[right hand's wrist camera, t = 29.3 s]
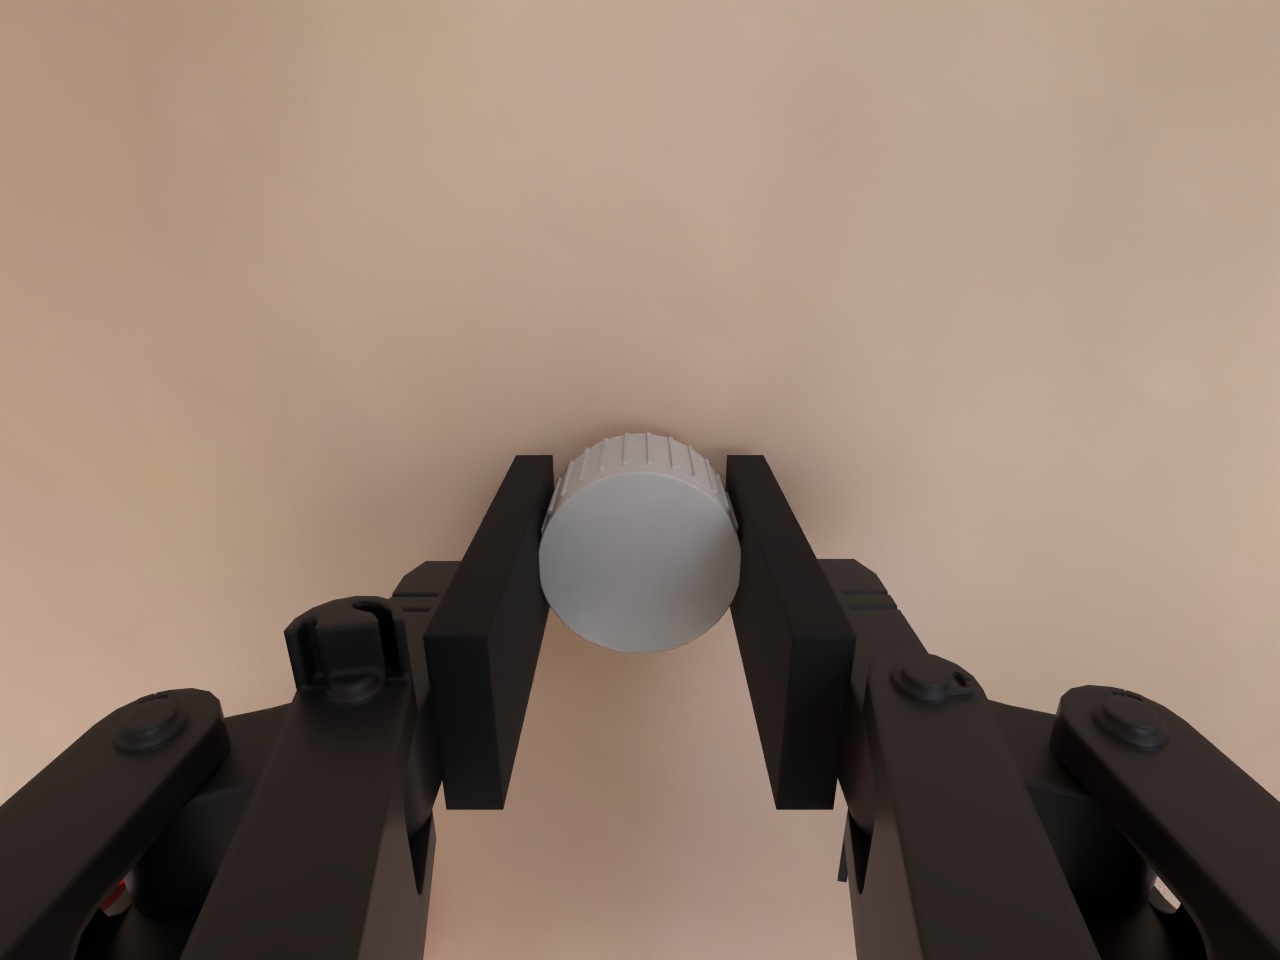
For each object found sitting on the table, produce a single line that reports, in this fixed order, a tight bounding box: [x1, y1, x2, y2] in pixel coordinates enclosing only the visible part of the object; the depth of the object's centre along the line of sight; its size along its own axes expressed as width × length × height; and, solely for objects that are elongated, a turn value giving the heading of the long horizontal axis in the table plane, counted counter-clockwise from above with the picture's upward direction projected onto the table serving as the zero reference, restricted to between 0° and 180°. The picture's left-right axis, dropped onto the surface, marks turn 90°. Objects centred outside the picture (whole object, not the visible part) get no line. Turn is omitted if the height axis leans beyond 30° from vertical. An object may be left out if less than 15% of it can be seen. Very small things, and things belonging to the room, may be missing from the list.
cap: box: [539, 432, 741, 653], centre depth 13 cm, size 4×4×2 cm
